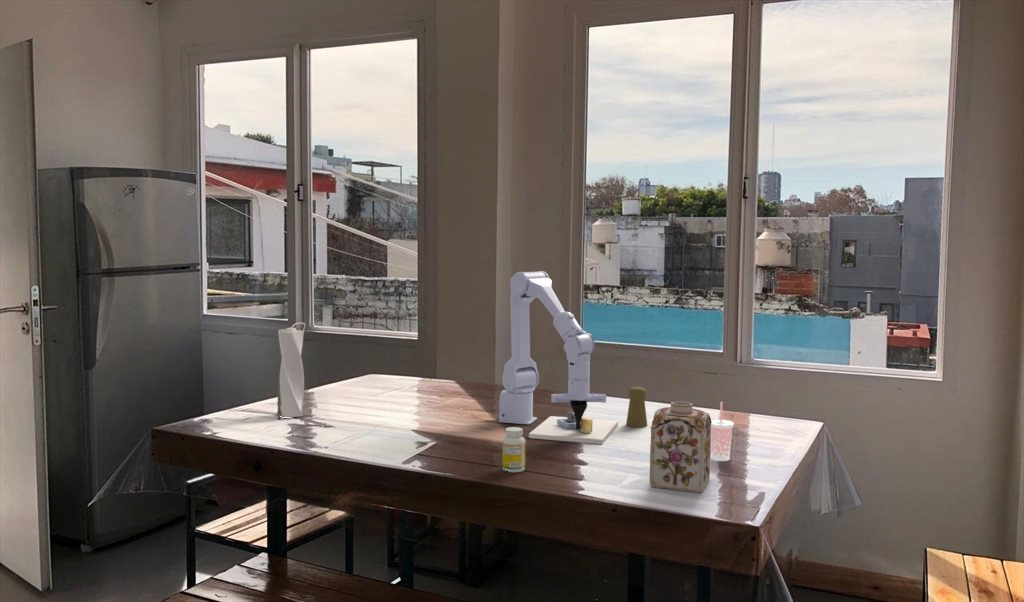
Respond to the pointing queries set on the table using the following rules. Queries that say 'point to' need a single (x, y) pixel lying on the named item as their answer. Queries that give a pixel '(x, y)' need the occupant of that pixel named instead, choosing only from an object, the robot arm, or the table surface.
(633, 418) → the cork
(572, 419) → the post
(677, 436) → the decorative jar
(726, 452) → the beverage cup
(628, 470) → the table surface
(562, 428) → the base plate
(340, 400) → the table surface
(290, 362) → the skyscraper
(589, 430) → the square ring with handle
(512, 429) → the supplement bottle
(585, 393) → the robot arm
